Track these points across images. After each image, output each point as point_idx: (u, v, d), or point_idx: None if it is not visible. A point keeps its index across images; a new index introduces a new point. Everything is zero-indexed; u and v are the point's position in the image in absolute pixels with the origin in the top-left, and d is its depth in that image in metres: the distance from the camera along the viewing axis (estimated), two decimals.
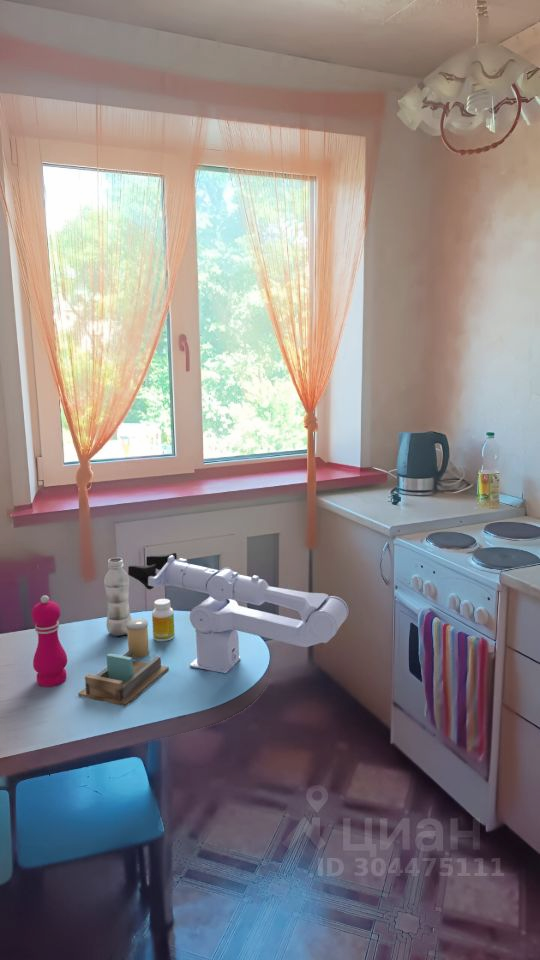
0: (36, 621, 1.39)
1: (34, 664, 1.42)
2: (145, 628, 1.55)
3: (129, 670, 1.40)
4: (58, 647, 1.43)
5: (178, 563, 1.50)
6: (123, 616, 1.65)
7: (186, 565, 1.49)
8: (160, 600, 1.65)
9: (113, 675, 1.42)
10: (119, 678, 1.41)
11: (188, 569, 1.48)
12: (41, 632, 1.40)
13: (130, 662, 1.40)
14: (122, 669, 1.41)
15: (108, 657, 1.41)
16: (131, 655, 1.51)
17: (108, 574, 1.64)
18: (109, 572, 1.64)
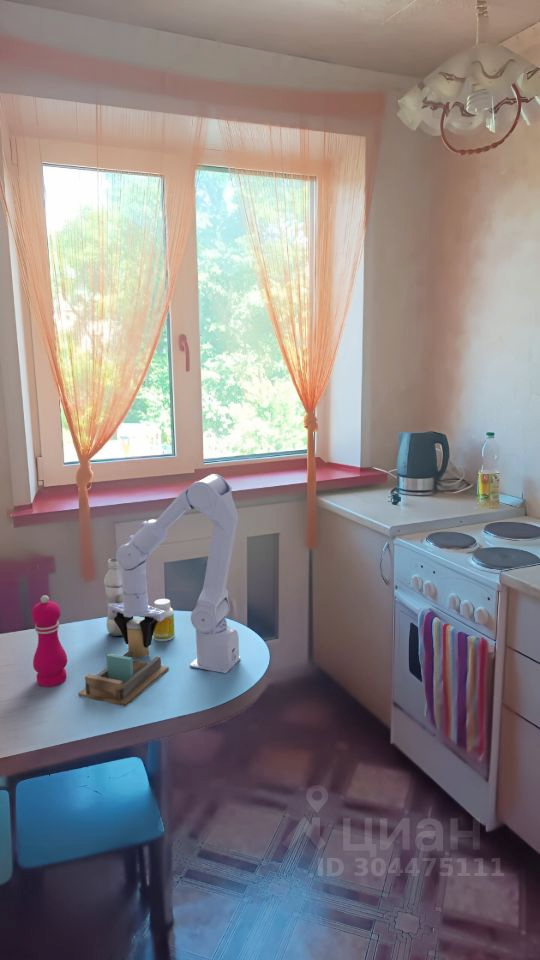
0: (36, 621, 1.39)
1: (34, 664, 1.42)
2: None
3: (129, 670, 1.40)
4: (58, 647, 1.43)
5: (130, 605, 1.52)
6: None
7: (130, 596, 1.51)
8: (160, 600, 1.65)
9: (113, 675, 1.42)
10: (119, 678, 1.41)
11: None
12: (41, 632, 1.40)
13: (130, 662, 1.40)
14: (122, 669, 1.41)
15: (108, 657, 1.41)
16: (131, 655, 1.51)
17: (108, 574, 1.64)
18: (109, 572, 1.64)
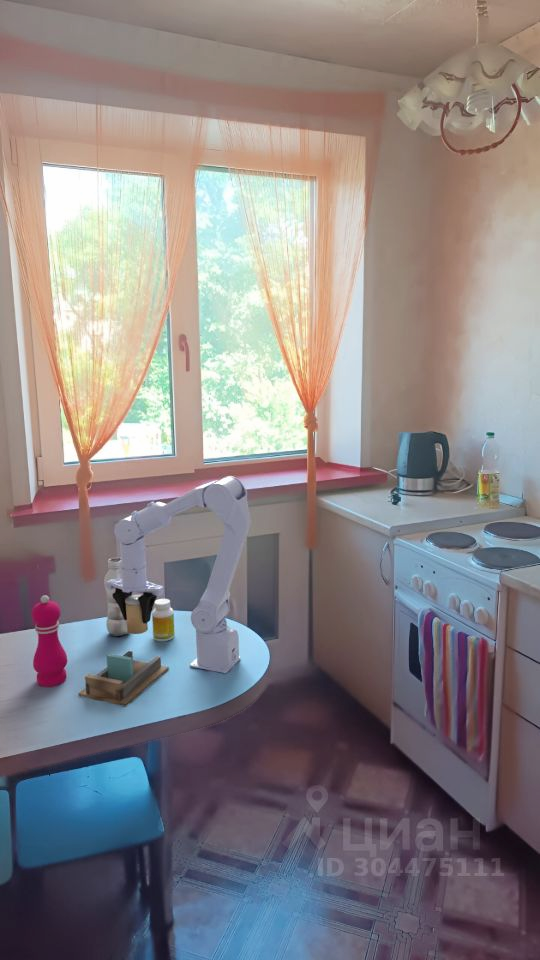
0: (36, 621, 1.39)
1: (34, 664, 1.42)
2: None
3: (129, 670, 1.40)
4: (58, 647, 1.43)
5: (128, 580, 1.51)
6: None
7: (128, 571, 1.50)
8: (160, 600, 1.65)
9: (113, 675, 1.42)
10: (119, 678, 1.41)
11: (121, 564, 1.52)
12: (41, 632, 1.40)
13: (130, 662, 1.40)
14: (122, 669, 1.41)
15: (108, 657, 1.41)
16: (131, 655, 1.51)
17: (108, 574, 1.64)
18: (109, 572, 1.64)
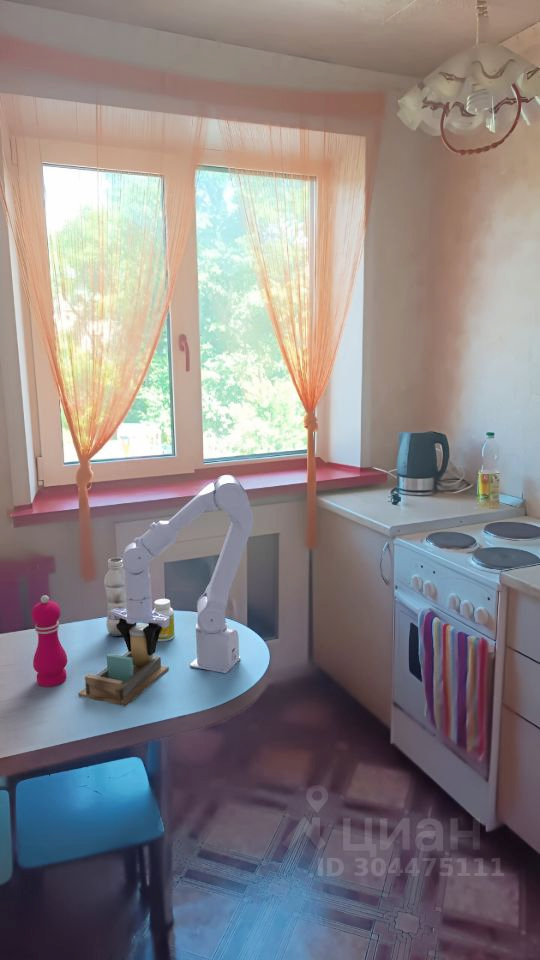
0: (36, 621, 1.39)
1: (34, 664, 1.42)
2: None
3: (129, 670, 1.40)
4: (58, 647, 1.43)
5: (133, 611, 1.44)
6: None
7: (133, 601, 1.44)
8: (160, 600, 1.65)
9: (113, 675, 1.42)
10: (119, 678, 1.41)
11: (127, 595, 1.44)
12: (41, 632, 1.40)
13: (130, 662, 1.40)
14: (122, 669, 1.41)
15: (108, 657, 1.41)
16: None
17: (108, 574, 1.64)
18: (109, 572, 1.64)
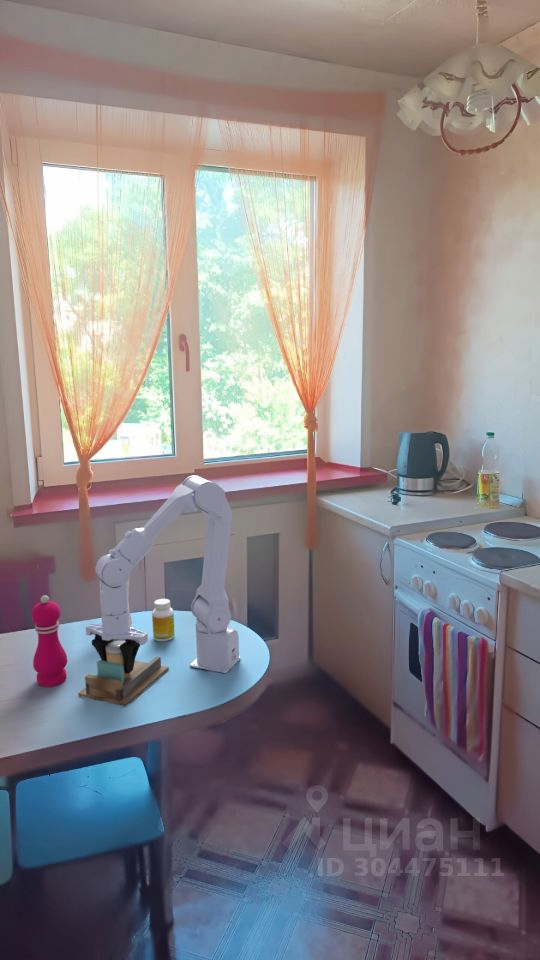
0: (36, 621, 1.39)
1: (34, 664, 1.42)
2: None
3: (120, 677, 1.37)
4: (58, 647, 1.43)
5: (109, 626, 1.36)
6: None
7: (109, 617, 1.36)
8: (160, 600, 1.65)
9: None
10: None
11: (105, 611, 1.36)
12: (41, 632, 1.40)
13: (121, 669, 1.37)
14: (113, 676, 1.37)
15: (98, 664, 1.38)
16: None
17: None
18: None
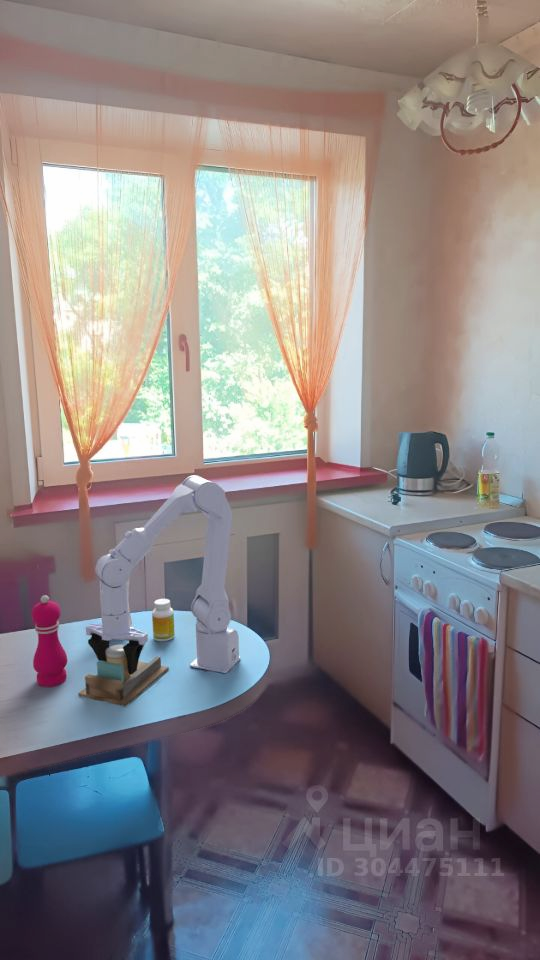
0: (36, 621, 1.39)
1: (34, 664, 1.42)
2: None
3: (120, 677, 1.37)
4: (58, 647, 1.43)
5: (109, 626, 1.36)
6: None
7: (109, 617, 1.36)
8: (160, 600, 1.65)
9: None
10: None
11: (105, 611, 1.36)
12: (41, 632, 1.40)
13: (121, 669, 1.36)
14: (113, 676, 1.37)
15: (98, 664, 1.38)
16: None
17: None
18: None
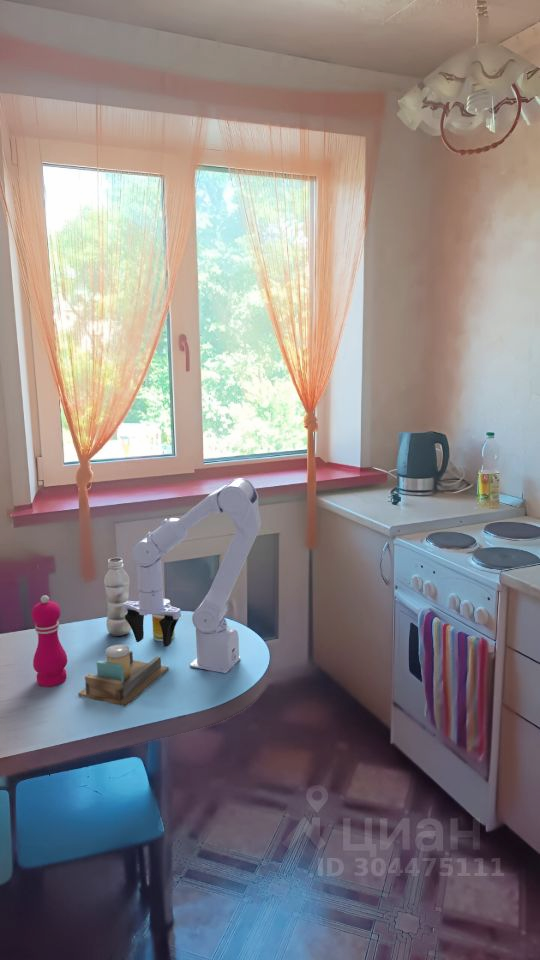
0: (36, 621, 1.39)
1: (34, 664, 1.42)
2: (127, 656, 1.39)
3: (120, 677, 1.37)
4: (58, 647, 1.43)
5: (146, 603, 1.49)
6: (123, 616, 1.65)
7: (145, 594, 1.48)
8: None
9: None
10: None
11: (138, 587, 1.50)
12: (41, 632, 1.40)
13: (121, 669, 1.36)
14: (113, 676, 1.37)
15: (98, 664, 1.38)
16: (131, 655, 1.51)
17: (108, 574, 1.64)
18: (109, 572, 1.64)
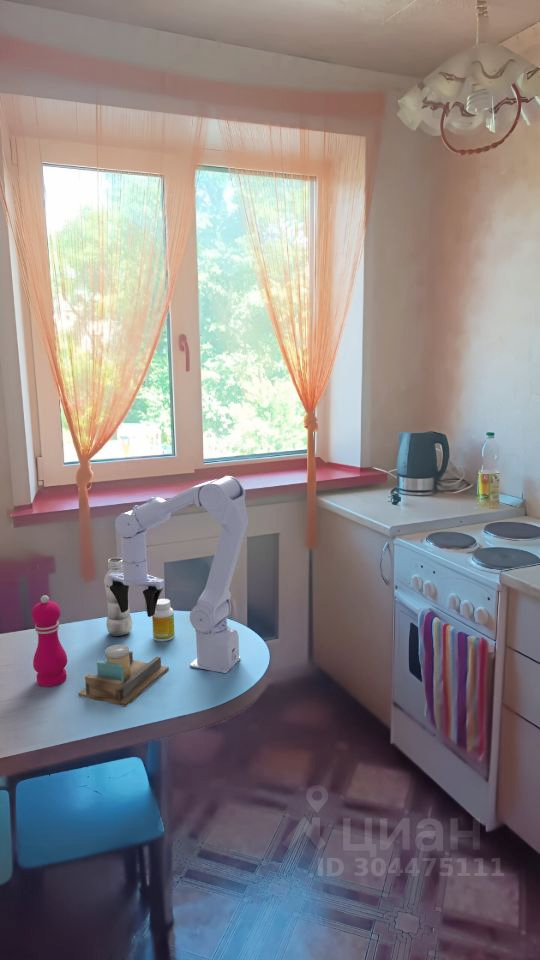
0: (36, 621, 1.39)
1: (34, 664, 1.42)
2: (126, 656, 1.39)
3: (120, 677, 1.37)
4: (58, 647, 1.43)
5: (130, 573, 1.53)
6: (123, 616, 1.65)
7: (129, 564, 1.52)
8: (160, 600, 1.65)
9: None
10: None
11: (122, 557, 1.54)
12: (41, 632, 1.40)
13: (121, 669, 1.36)
14: (113, 676, 1.37)
15: (98, 664, 1.38)
16: (131, 655, 1.51)
17: (108, 574, 1.64)
18: (109, 572, 1.64)
